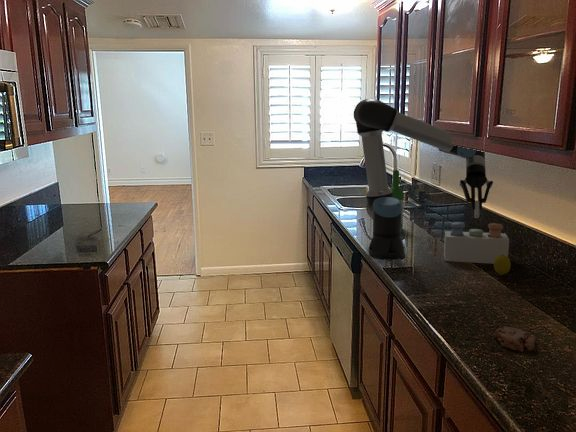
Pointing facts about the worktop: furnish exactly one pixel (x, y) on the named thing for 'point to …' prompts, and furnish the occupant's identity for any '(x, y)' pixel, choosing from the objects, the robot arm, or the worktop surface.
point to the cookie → (515, 339)
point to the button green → (475, 233)
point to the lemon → (502, 264)
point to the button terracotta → (495, 230)
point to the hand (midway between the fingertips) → (476, 216)
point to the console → (474, 248)
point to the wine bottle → (397, 191)
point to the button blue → (457, 228)
